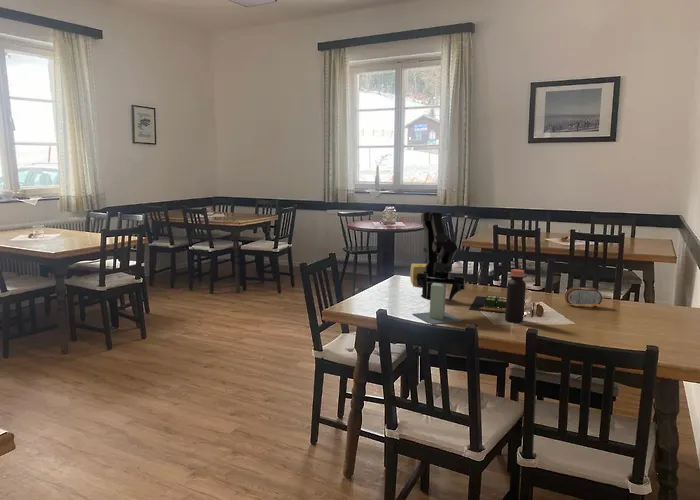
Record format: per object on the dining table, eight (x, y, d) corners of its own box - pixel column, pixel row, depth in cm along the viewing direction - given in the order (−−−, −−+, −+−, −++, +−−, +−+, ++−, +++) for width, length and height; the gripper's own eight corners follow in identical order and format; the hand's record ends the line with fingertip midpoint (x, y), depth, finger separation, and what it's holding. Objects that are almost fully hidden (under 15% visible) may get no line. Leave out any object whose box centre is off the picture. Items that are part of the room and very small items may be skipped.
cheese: (433, 287, 263) (434, 267, 261) (411, 286, 263) (412, 266, 261) (430, 282, 273) (431, 263, 271) (409, 281, 273) (410, 262, 271)
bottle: (524, 323, 204) (528, 272, 201) (505, 322, 205) (509, 271, 202) (522, 319, 210) (525, 269, 207) (504, 317, 212) (507, 268, 209)
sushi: (468, 311, 222) (469, 302, 222) (476, 297, 246) (476, 290, 245) (532, 318, 214) (532, 309, 213) (533, 303, 237) (534, 295, 237)
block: (431, 314, 212) (433, 282, 210) (444, 316, 210) (446, 283, 208) (429, 317, 207) (431, 285, 205) (442, 319, 206) (444, 286, 204)
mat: (442, 311, 218) (442, 310, 218) (462, 321, 205) (462, 320, 205) (412, 314, 212) (412, 313, 212) (431, 324, 200) (431, 323, 200)
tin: (599, 306, 233) (601, 287, 232) (602, 308, 230) (603, 289, 229) (563, 304, 234) (565, 286, 233) (565, 306, 231) (567, 287, 230)
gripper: (418, 252, 212) (411, 285, 203) (466, 256, 206) (461, 290, 198) (421, 268, 221) (414, 301, 212) (467, 272, 215) (462, 305, 206)
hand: (437, 299), depth 207 cm, fingers open, 9 cm apart
